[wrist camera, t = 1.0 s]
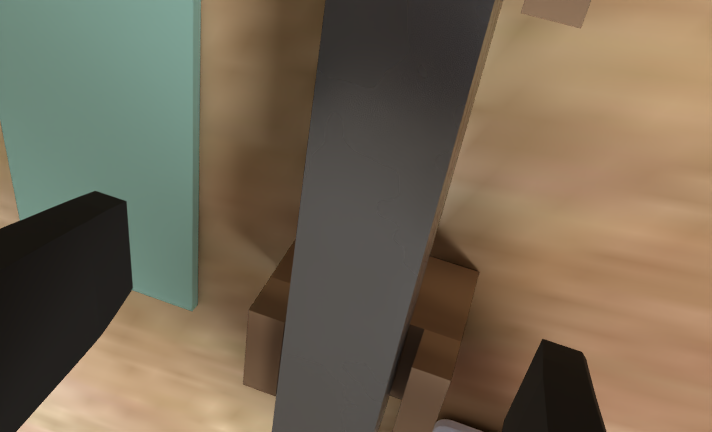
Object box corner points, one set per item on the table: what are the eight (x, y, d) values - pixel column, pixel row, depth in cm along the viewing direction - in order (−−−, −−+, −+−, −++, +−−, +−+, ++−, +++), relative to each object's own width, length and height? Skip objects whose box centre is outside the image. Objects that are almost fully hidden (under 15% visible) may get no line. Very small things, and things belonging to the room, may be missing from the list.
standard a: (454, 340, 21) (425, 451, 18) (300, 287, 22) (243, 384, 19) (479, 272, 20) (450, 380, 16) (309, 217, 20) (248, 310, 17)
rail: (386, 405, 20) (360, 481, 18) (305, 376, 20) (270, 446, 18) (573, -245, 10) (564, -247, 8) (409, -276, 10) (361, -286, 8)
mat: (197, 304, 24) (192, 311, 24) (33, 246, 25) (26, 252, 25) (205, -450, 12) (194, -456, 12) (-105, -498, 14) (-122, -504, 13)
